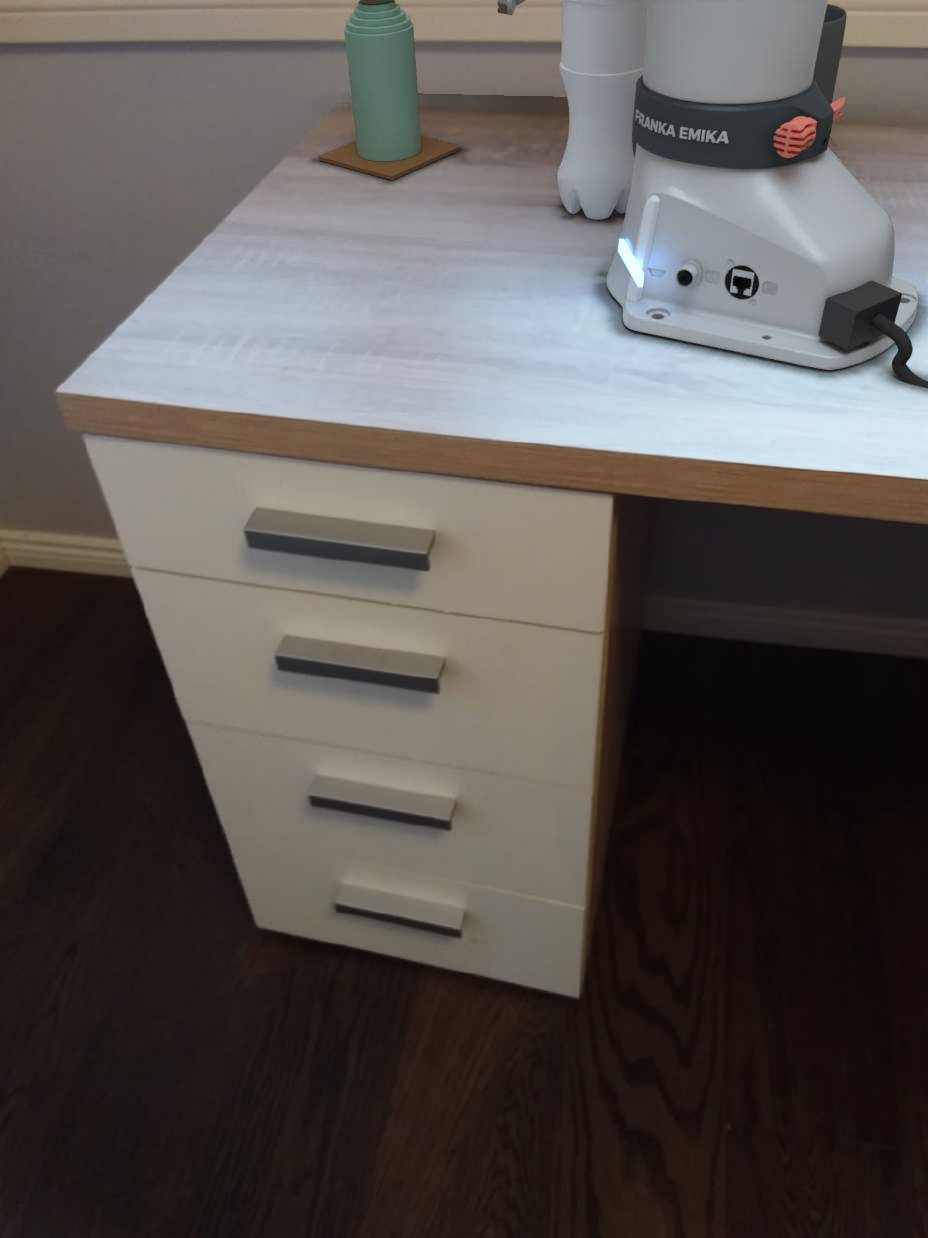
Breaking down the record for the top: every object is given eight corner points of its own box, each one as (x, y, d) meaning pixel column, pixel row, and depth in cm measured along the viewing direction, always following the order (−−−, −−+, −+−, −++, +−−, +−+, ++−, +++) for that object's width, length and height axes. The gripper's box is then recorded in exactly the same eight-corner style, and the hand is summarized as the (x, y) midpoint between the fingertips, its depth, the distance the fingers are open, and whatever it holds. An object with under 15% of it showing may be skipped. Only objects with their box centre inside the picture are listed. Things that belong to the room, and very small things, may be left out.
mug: (839, 151, 97) (867, 7, 88) (790, 180, 92) (815, 30, 84) (715, 125, 104) (731, -11, 95) (664, 150, 99) (676, 9, 91)
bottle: (434, 147, 101) (424, -31, 91) (391, 166, 98) (375, -17, 87) (388, 135, 104) (373, -38, 94) (344, 153, 101) (323, -25, 91)
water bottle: (638, 192, 91) (663, -156, 74) (640, 224, 86) (668, -143, 69) (557, 193, 92) (564, -152, 75) (555, 224, 87) (562, -139, 70)
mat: (460, 149, 101) (460, 145, 101) (392, 180, 96) (392, 175, 96) (387, 132, 106) (387, 128, 106) (319, 160, 101) (318, 156, 101)
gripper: (400, -138, 104) (355, -47, 99) (594, -110, 101) (558, -15, 96) (407, -76, 110) (365, 12, 105) (591, -47, 106) (556, 45, 102)
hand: (458, 0), depth 100 cm, fingers open, 8 cm apart
